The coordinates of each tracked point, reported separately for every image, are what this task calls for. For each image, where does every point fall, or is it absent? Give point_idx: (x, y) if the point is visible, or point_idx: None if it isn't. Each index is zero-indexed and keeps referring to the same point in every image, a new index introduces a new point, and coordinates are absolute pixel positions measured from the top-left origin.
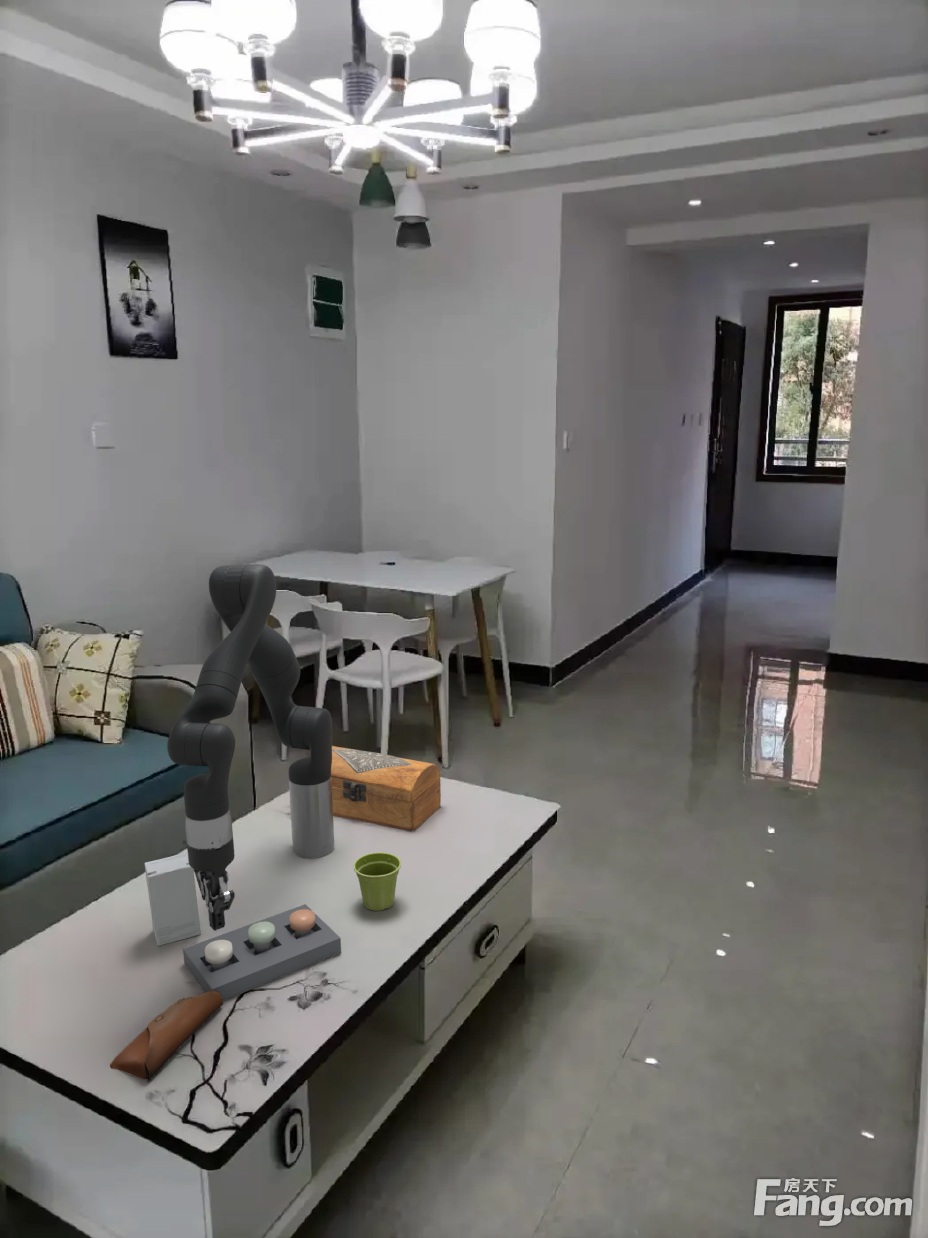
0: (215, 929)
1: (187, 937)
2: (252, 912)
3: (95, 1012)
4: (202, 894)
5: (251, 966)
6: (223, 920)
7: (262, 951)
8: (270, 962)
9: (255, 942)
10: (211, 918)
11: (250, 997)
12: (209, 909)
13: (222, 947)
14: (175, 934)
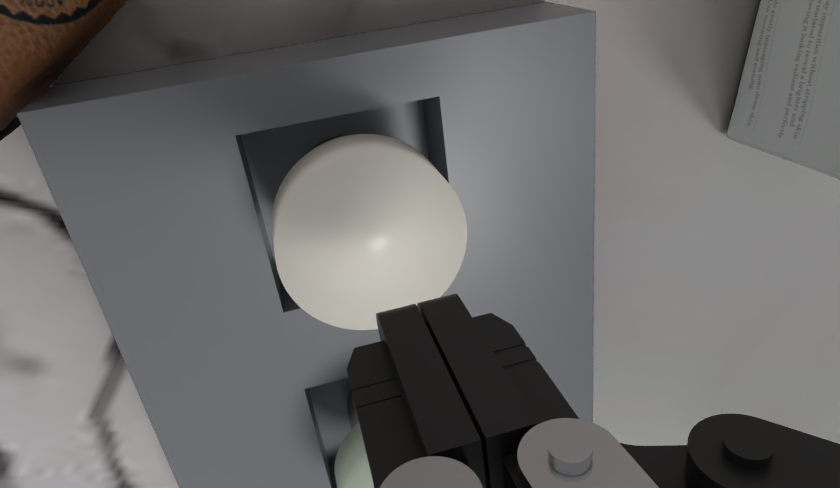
0: (379, 331)
1: (745, 67)
2: (725, 363)
3: None
4: (788, 477)
5: (202, 366)
6: (368, 462)
7: (351, 413)
8: (198, 455)
9: (357, 434)
10: (420, 385)
11: (65, 286)
12: (449, 475)
13: (361, 272)
14: (791, 5)
